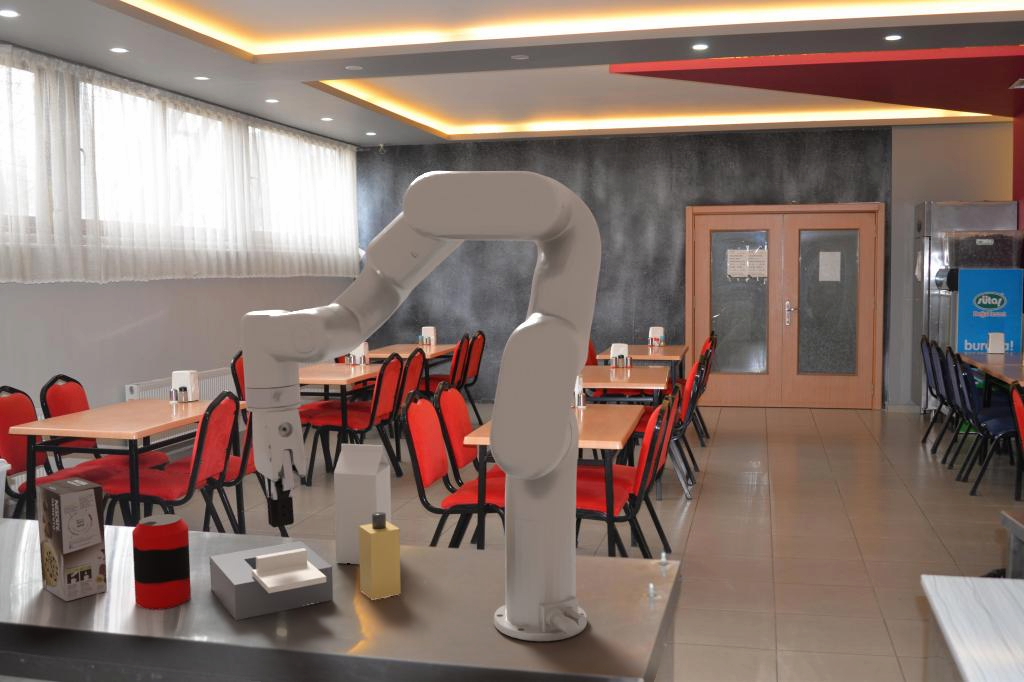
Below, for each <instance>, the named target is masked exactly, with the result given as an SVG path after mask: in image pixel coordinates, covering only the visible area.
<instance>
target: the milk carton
mask: <svg viewBox="0 0 1024 682" xmlns="http://www.w3.org/2000/svg"><path fill="white" fill-rule="evenodd" d="M340 446H341V447H340V448H341V449H340V450H341V451H340V453H339V456H338V458H337V462H336V466H335V469H334V471H333V486H334V488H333V489H334V490H333V491H334V495H333V496H334V525H335V527H334V530H335V533H334V534H335V535H334V536H335V539H334V540H335V563H336V562H340V563H339V564H347V563H350V565H360V551H359V526H361V525H367V524H372V514H373V513H376V512H384V513H386V521H388V522H389V523H391V524H392V508H391V507H392V503H391V502H392V501H391V499H392V498H391V497H392V496H391V493H392V492H391V490H392V489H391V464H390V462H389V460H388V458H387V456H386V454H385V453H384V446H383V445H381V444H360V443H359V444H356V443H341V445H340Z"/></svg>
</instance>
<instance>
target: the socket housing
mask: <svg viewBox="0 0 1024 682" xmlns="http://www.w3.org/2000/svg"><path fill="white" fill-rule="evenodd" d="M301 548H305V549H306V550H307V561H309V562H310V563H311V564H312V565H313V566H314V567H316V568H317V569H318V570H319V571H320V572H321V573H323V574H324V575H325V576H326V582H324V583H319V584H314V585H309V586H304V587H299V588H294V589H289V590H284V591H278V592H273V593H268V592H267V591H266V590H265V589H264V588H263V587H262V586H261V585H260V583H259V582H258V581H257V580H256V579H255V578H254V577H253V576H252V570H255V569H256V556H261V555H267V554H272V553H278V552H284V551H290V550H295V549H301ZM209 568H210V569H209V571H210V589H211V591H212V592H213V593H214V594H215V596H216V597H217V598H218V599H219V601H220V602H221V604H223V606H224V607H225V608H226V610H227V611H228V613H230V615H231V616H232V617H233V619H234V620H235V621H239V620H243V619H248V618H253V617H258V616H262V615H263V616H264V615H269V614H273V613H277V612H282V611H286V610H287V611H288V610H291V609H296V607H297V608H301V607H300V606H302V607H304V606H303V605H307V604H311V603H317V602H321V603H325V602H324V601H326V602H329V601H328V600H331V601H333V600H334V596H333V595H334V591H333V587H334V585H333V566H332V565H331V564H329V563H328V562H327V561H325V559H324V558H323V557H321V556H320V555H319V554H317V553H316V552H315V551H314V550H312V549H311V548H310V547H309V546H307V545H306V544H305V543H303V542H302V541H301V540H300V541H293V542H287V543H281V544H276V545H269V546H264V547H258V548H251V549H247V550H246V549H245V550H239V551H234V552H229V553H228V552H227V553H222V554H215V555H212V556H209ZM317 604H318V603H317ZM307 606H308V605H307Z"/></svg>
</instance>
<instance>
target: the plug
mask: <svg viewBox="0 0 1024 682" xmlns="http://www.w3.org/2000/svg"><path fill="white" fill-rule="evenodd" d="M400 532H401V531H400V528H399V527H398V526H396V525H394V524H392V522H391V523H389V522H388V521H386V513H384V512H376V513H373V514H372V524H367V525H361V526H359V551H360V564H359V586H360V587H359V589H360V590H361V591H363V592H364V593H365V594H366V595H368V596H369V597H370V598H372V599H375V598H381V597H385V596H389V595H395V594H402V593H401V589H402V588H401V587H402V586H401V548H400V547H401V546H400V543H401V538H400V537H401V535H400V534H401V533H400Z"/></svg>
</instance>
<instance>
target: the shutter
mask: <svg viewBox="0 0 1024 682" xmlns="http://www.w3.org/2000/svg"><path fill="white" fill-rule="evenodd" d="M252 576H253V577H254V578H255V579H256V580H257V581H258V582H259V583H260V585H261V586H262V587H263V588H264V589H265V590H266V591H267V592H268V593H273V592H278V591H284V590H289V589H294V588H299V587H304V586H309V585H314V584H319V583H324V582H326V576H325V575H324V574H323V573H321V572H320V571H319V570H318V569H317V568H316V567H314V566H313V565H312V564H311V563H310V562H309V561H307V550H306V549H305V548H301V549H295V550H290V551H284V552H278V553H272V554H267V555H261V556H256V569H255V570H252Z"/></svg>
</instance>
